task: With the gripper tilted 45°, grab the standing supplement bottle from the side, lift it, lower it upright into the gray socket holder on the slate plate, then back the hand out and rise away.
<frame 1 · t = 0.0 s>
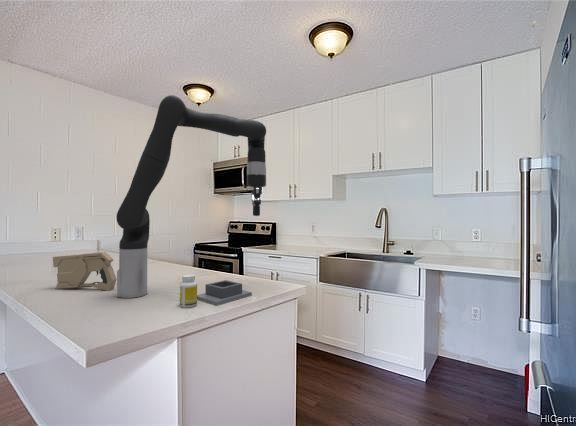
hand: (256, 215, 118), 29 cm above the countertop, tool pointing down, fingers open, 8 cm apart
gun: (84, 289, 119), on the countertop
gray socket holder: (223, 297, 108), on the countertop
supplement bottle: (188, 306, 98), on the countertop
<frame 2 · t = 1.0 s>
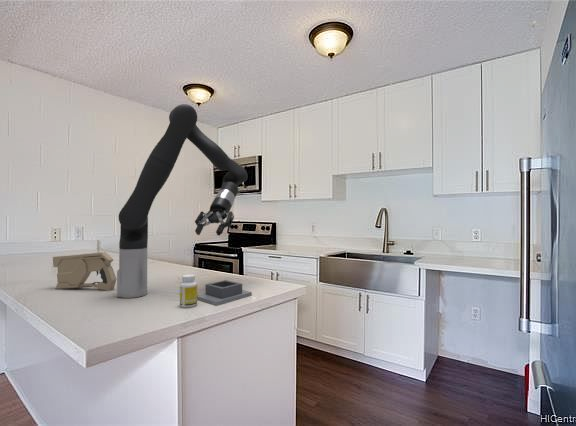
hand: (207, 233, 110), 23 cm above the countertop, tool tilted 45°, fingers open, 8 cm apart
nothing on the countertop moved.
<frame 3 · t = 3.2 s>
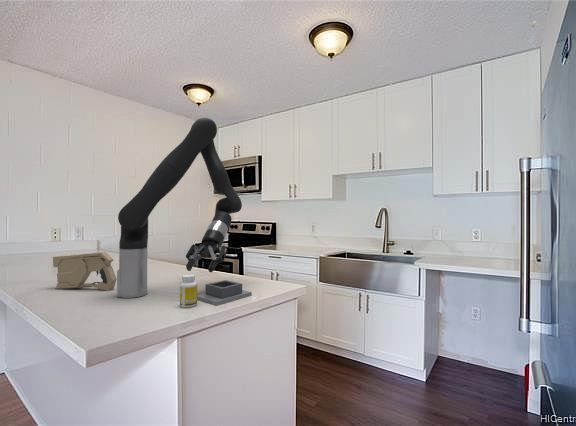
hand: (198, 270, 104), 10 cm above the countertop, tool tilted 45°, fingers open, 8 cm apart
nothing on the countertop moved.
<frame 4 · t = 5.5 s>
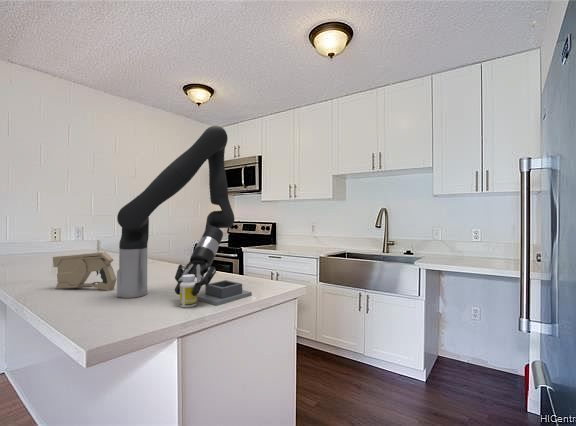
hand: (185, 293, 97), 4 cm above the countertop, tool tilted 45°, fingers closed on supplement bottle, 5 cm apart
supplement bottle: (188, 305, 98), on the countertop, touching gripper
everything else where it was.
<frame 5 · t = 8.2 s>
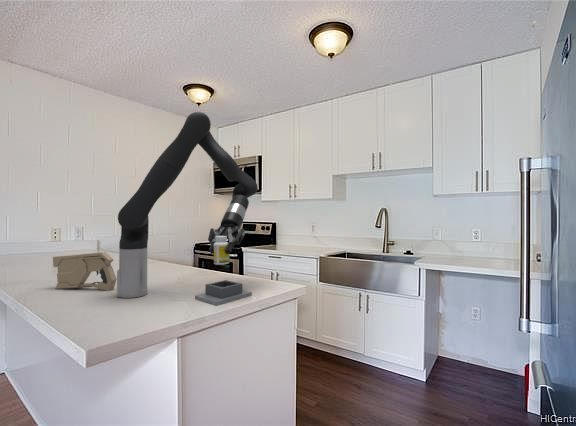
hand: (219, 252, 105), 16 cm above the countertop, tool tilted 45°, fingers closed on supplement bottle, 5 cm apart
supplement bottle: (221, 264, 107), point 12 cm above the countertop, touching gripper
everything else where it was.
when the fingers open (7 cm above the countertop, at t = 11.1 s): supplement bottle drops 1 cm, resting on gray socket holder.
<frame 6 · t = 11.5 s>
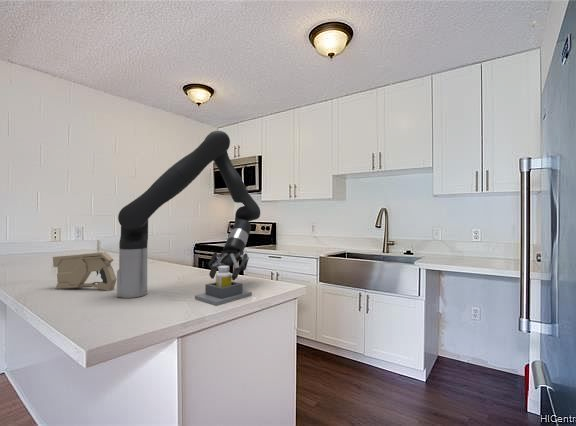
hand: (222, 278, 107), 7 cm above the countertop, tool tilted 45°, fingers open, 8 cm apart
supplement bottle: (223, 294, 108), point 1 cm above the countertop, touching gray socket holder
everything else where it was.
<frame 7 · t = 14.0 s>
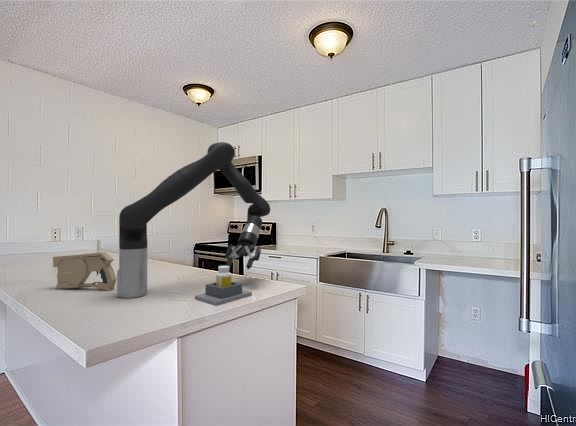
hand: (237, 267, 119), 9 cm above the countertop, tool tilted 45°, fingers open, 8 cm apart
nothing on the countertop moved.
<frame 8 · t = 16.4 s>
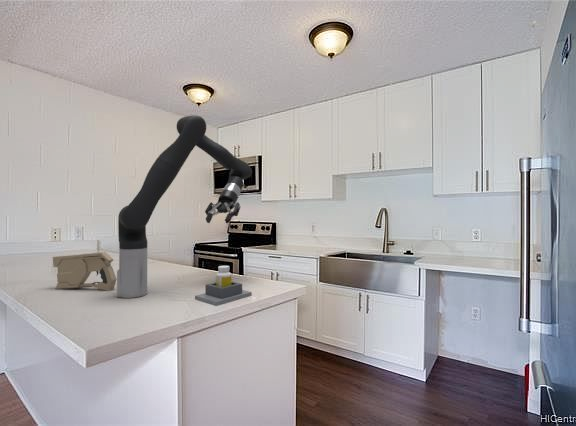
hand: (216, 221, 122), 27 cm above the countertop, tool tilted 45°, fingers open, 8 cm apart
nothing on the countertop moved.
at the end: supplement bottle 0.2 cm off-centre on the gray socket holder, point 1.0 cm above the gray socket holder's base; supplement bottle tilted 0°; the gripper is holding nothing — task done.
